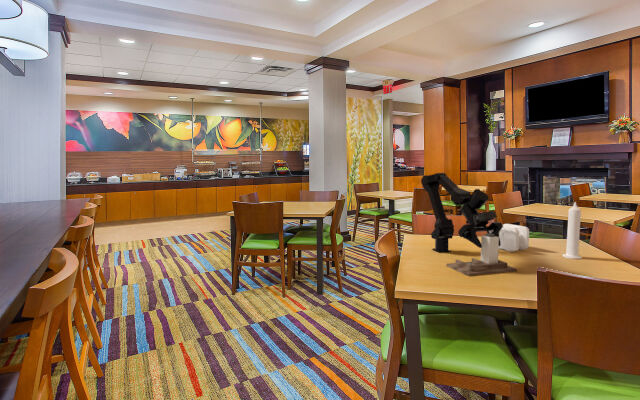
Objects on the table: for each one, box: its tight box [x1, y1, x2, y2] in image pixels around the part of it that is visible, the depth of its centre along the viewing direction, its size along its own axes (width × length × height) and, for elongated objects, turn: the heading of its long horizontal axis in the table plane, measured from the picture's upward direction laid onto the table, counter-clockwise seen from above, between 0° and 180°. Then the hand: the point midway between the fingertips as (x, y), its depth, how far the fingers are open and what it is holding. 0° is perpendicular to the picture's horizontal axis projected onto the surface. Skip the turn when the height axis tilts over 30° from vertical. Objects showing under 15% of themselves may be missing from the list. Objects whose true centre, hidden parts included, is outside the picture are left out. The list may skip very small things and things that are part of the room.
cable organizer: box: [498, 223, 530, 253], centre depth 180 cm, size 15×11×12 cm
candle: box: [562, 201, 583, 260], centre depth 163 cm, size 7×7×25 cm
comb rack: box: [446, 257, 518, 277], centre depth 147 cm, size 14×22×3 cm, turn 104°
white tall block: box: [480, 233, 499, 264], centre depth 148 cm, size 4×4×13 cm
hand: (490, 246), depth 147 cm, fingers open, 9 cm apart
